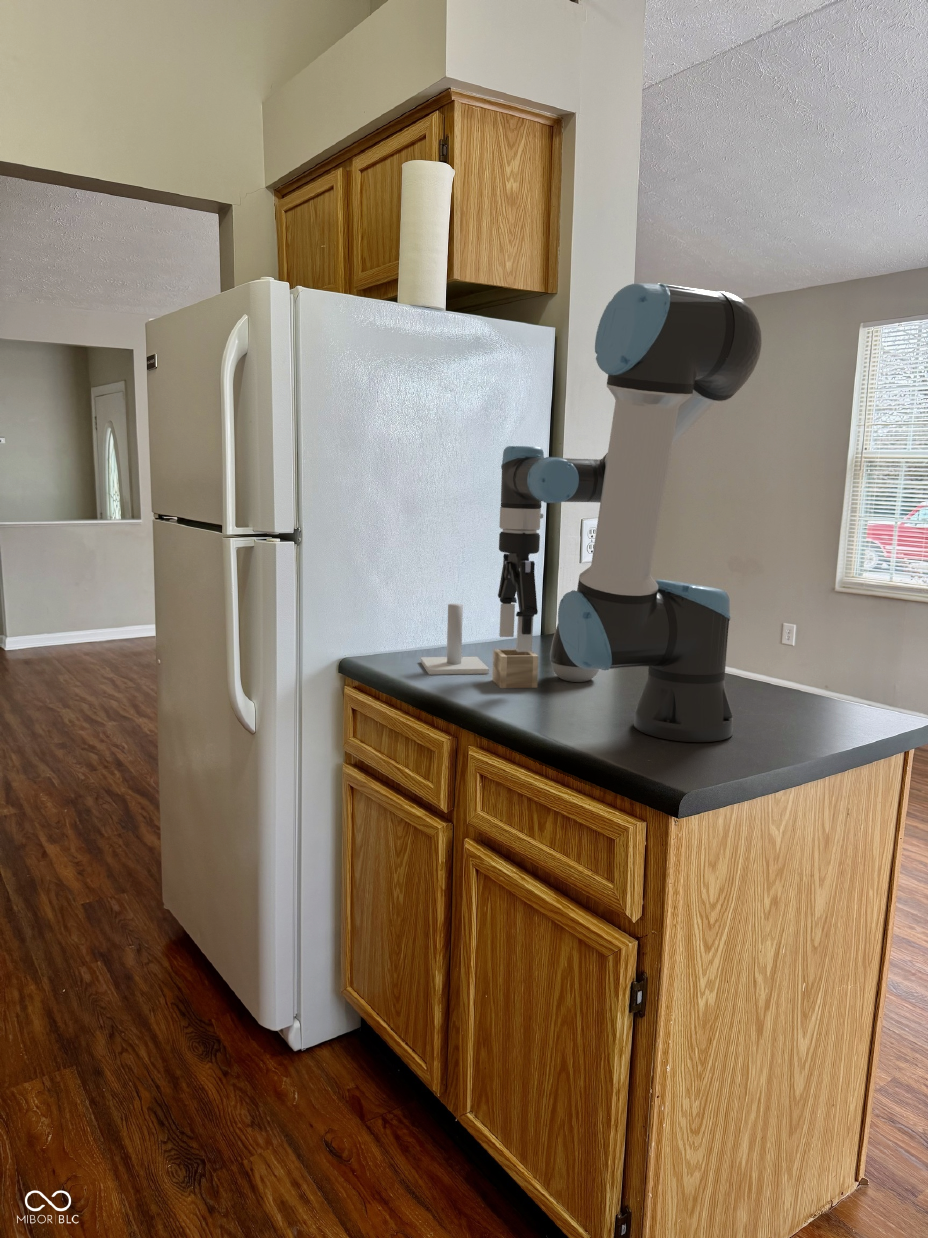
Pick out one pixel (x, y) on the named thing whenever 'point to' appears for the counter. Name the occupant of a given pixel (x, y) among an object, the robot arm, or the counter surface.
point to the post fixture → (454, 650)
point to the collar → (515, 668)
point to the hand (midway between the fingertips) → (514, 643)
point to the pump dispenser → (567, 663)
